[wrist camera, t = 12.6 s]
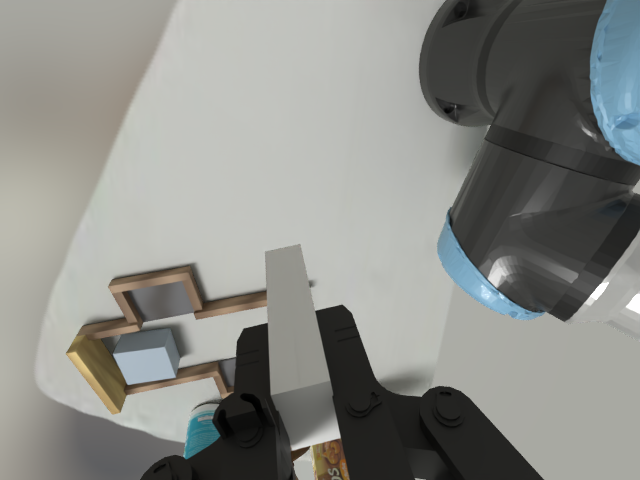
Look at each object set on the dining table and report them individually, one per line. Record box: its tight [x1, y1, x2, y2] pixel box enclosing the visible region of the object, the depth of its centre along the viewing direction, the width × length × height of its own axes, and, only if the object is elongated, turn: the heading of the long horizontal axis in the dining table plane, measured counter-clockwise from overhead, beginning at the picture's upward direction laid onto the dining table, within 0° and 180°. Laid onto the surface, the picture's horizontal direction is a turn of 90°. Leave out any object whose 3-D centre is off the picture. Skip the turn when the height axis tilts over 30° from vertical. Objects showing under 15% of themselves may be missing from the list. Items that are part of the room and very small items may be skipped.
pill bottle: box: [183, 404, 220, 459], centre depth 57 cm, size 8×7×14 cm
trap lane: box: [66, 266, 267, 414], centre depth 51 cm, size 33×28×5 cm
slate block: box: [113, 328, 180, 385], centre depth 50 cm, size 7×7×4 cm
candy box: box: [310, 438, 350, 480], centre depth 69 cm, size 9×4×15 cm, turn 86°
